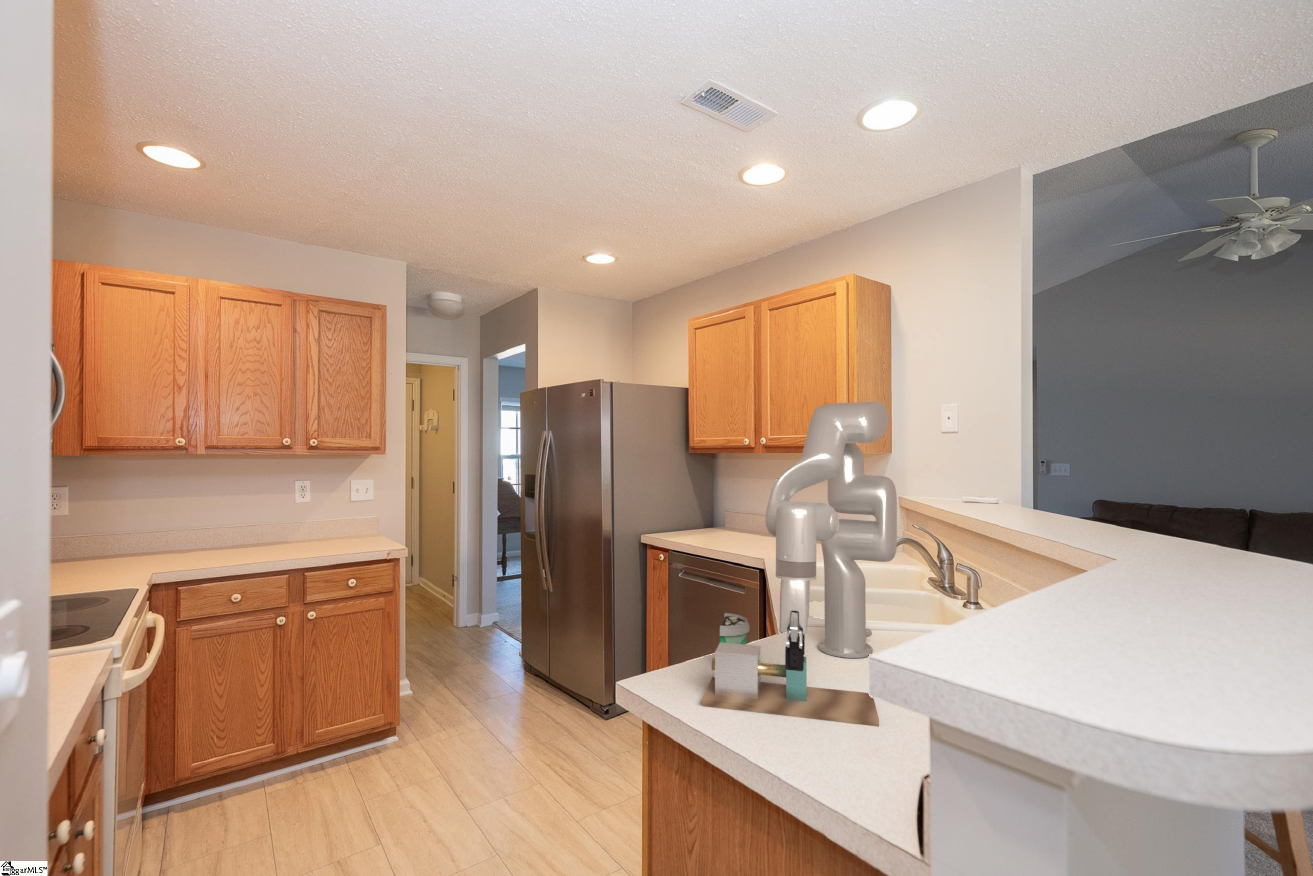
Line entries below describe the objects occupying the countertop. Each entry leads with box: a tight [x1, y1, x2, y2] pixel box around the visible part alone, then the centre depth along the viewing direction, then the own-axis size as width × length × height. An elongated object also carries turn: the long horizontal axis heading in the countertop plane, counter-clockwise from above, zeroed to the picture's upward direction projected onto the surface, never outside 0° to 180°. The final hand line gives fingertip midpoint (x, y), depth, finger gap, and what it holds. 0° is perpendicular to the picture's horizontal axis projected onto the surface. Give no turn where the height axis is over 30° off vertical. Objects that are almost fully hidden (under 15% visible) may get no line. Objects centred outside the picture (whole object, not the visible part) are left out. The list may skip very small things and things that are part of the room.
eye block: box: [714, 642, 761, 699], centre depth 114 cm, size 8×6×8 cm
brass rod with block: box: [711, 656, 808, 702], centre depth 113 cm, size 18×4×7 cm, turn 75°
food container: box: [719, 612, 751, 645], centre depth 133 cm, size 12×6×10 cm, turn 168°
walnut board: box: [701, 676, 880, 727], centre depth 112 cm, size 31×12×1 cm, turn 75°
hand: (795, 662), depth 111 cm, fingers open, 9 cm apart
